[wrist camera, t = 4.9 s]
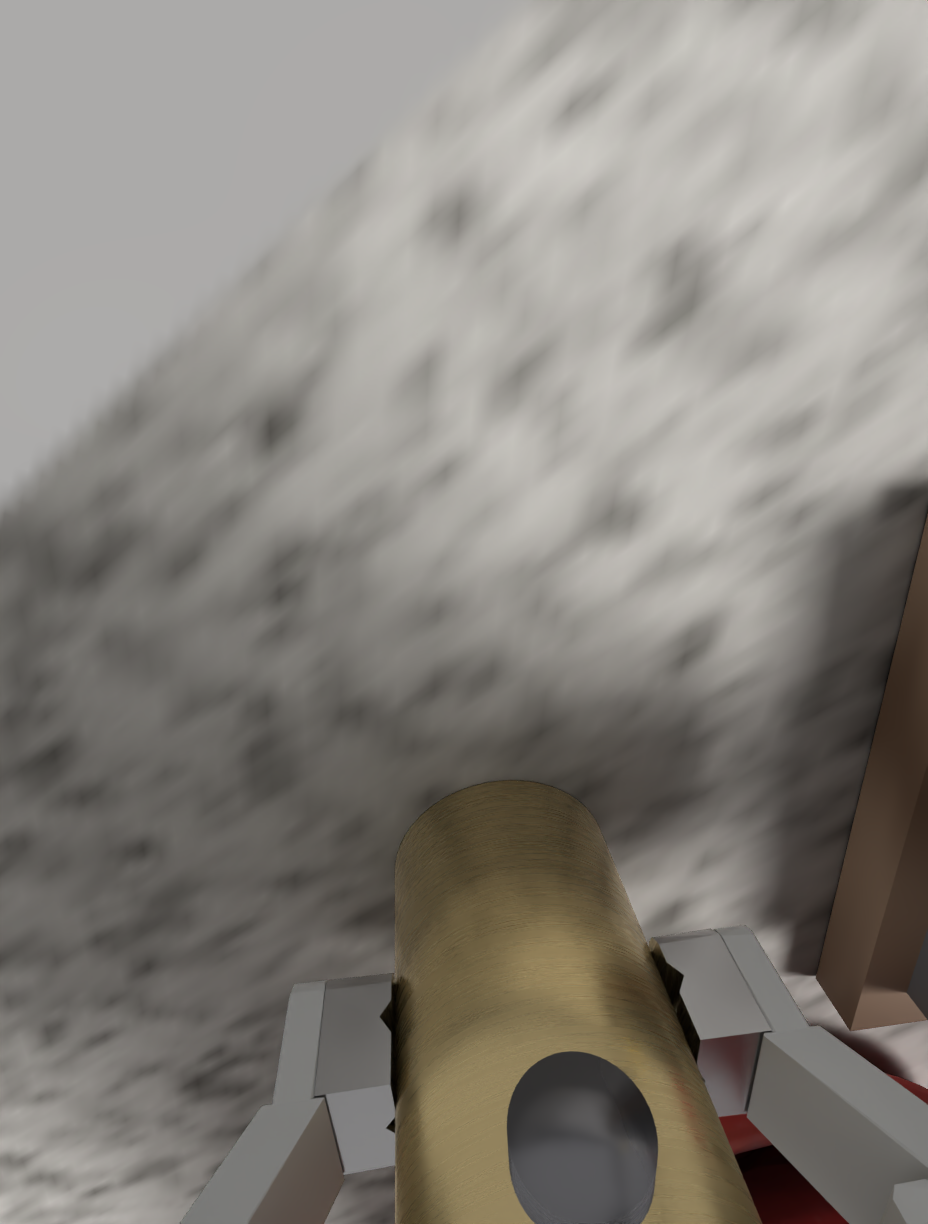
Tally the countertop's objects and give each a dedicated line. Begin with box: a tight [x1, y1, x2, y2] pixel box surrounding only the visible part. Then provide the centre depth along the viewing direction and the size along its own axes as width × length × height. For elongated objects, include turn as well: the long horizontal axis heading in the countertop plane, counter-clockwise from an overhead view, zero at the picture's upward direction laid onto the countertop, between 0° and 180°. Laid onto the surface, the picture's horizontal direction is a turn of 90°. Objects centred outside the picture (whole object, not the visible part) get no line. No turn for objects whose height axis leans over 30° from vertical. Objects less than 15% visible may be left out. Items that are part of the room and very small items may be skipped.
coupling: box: [395, 780, 762, 1224], centre depth 9 cm, size 5×4×7 cm
